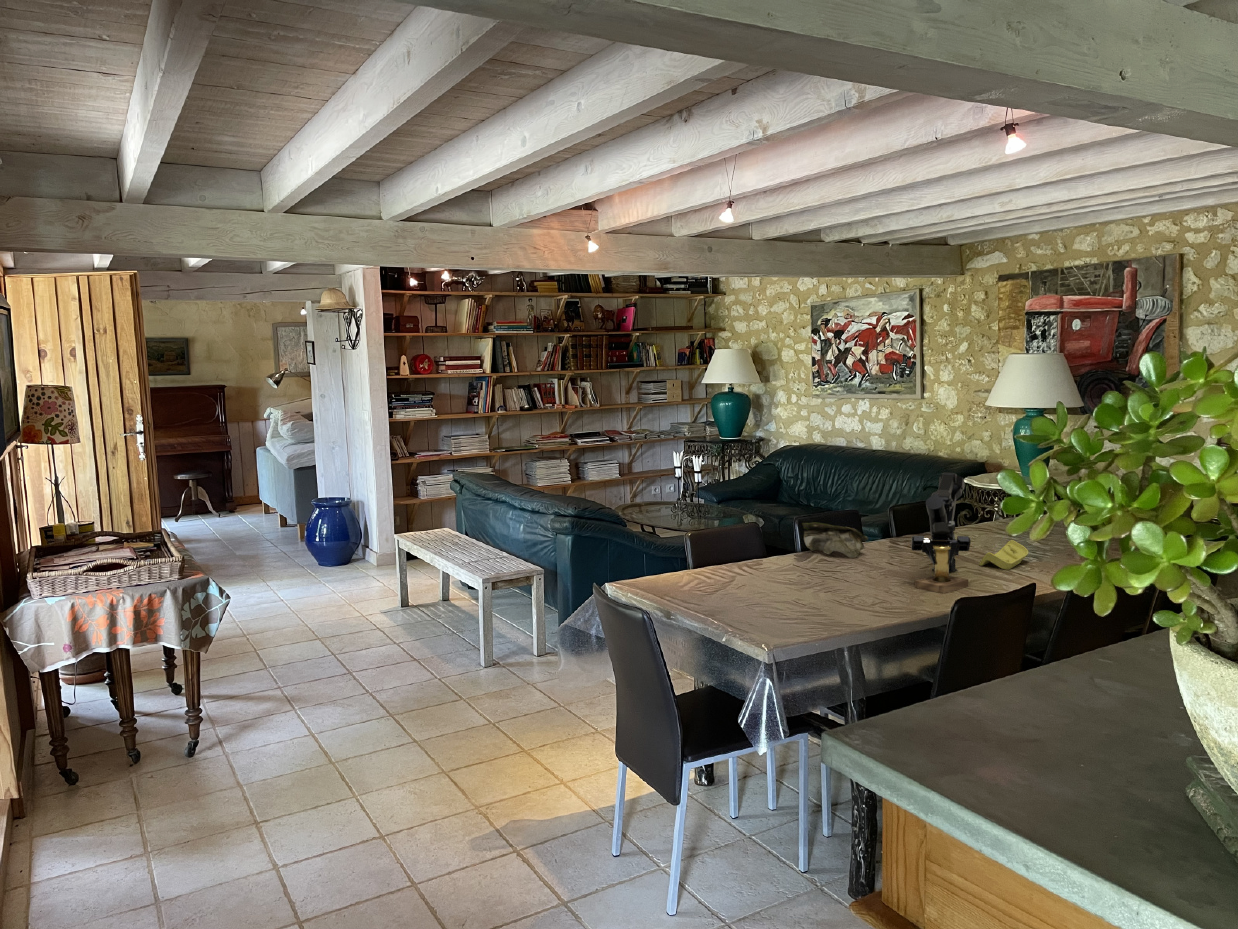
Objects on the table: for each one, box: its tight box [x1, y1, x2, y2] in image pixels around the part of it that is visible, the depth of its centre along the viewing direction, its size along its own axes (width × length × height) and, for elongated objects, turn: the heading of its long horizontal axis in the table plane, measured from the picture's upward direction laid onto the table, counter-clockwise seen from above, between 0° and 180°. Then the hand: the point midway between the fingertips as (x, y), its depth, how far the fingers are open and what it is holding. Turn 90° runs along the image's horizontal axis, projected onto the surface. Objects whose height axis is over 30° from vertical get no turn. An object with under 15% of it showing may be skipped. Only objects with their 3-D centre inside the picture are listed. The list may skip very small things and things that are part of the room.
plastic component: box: [978, 539, 1029, 570], centre depth 333 cm, size 20×7×10 cm
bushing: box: [933, 544, 951, 582], centre depth 302 cm, size 6×6×12 cm
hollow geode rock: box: [801, 521, 869, 559], centre depth 360 cm, size 28×13×15 cm
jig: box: [914, 574, 969, 594], centre depth 302 cm, size 11×14×2 cm
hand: (942, 564), depth 300 cm, fingers closed on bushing, 5 cm apart
